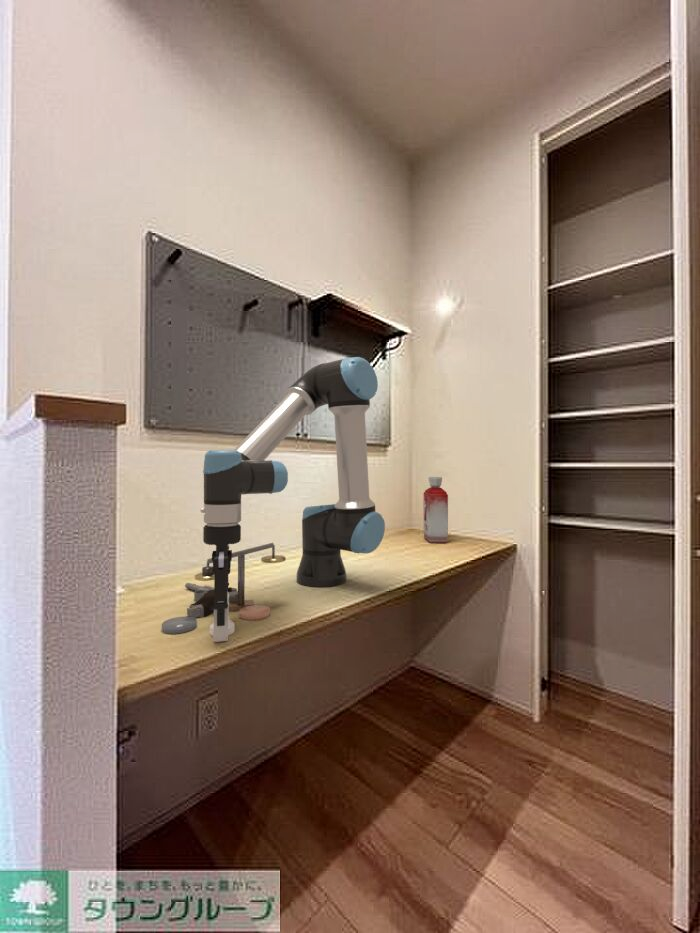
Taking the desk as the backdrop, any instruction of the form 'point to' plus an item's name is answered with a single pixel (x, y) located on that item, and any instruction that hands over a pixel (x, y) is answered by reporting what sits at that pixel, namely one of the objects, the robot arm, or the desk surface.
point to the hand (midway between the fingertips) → (221, 631)
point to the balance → (240, 573)
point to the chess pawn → (230, 624)
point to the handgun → (205, 600)
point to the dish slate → (179, 625)
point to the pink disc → (254, 612)
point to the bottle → (435, 512)
